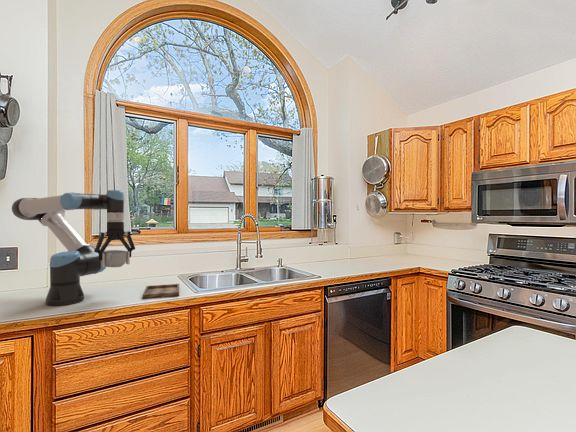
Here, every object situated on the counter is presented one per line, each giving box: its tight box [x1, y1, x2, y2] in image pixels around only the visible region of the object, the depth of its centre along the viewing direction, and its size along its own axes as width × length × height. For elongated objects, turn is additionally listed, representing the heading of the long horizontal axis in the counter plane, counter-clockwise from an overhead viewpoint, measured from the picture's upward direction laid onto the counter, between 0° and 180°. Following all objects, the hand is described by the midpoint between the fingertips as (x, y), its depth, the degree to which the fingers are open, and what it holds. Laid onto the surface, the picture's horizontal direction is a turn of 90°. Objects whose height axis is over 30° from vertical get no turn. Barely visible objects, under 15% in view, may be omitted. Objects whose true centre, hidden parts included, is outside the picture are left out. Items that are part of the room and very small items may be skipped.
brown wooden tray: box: [142, 283, 180, 300], centre depth 172 cm, size 17×20×2 cm
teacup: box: [103, 249, 128, 268], centre depth 162 cm, size 14×11×8 cm
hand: (115, 265), depth 162 cm, fingers closed on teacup, 11 cm apart
